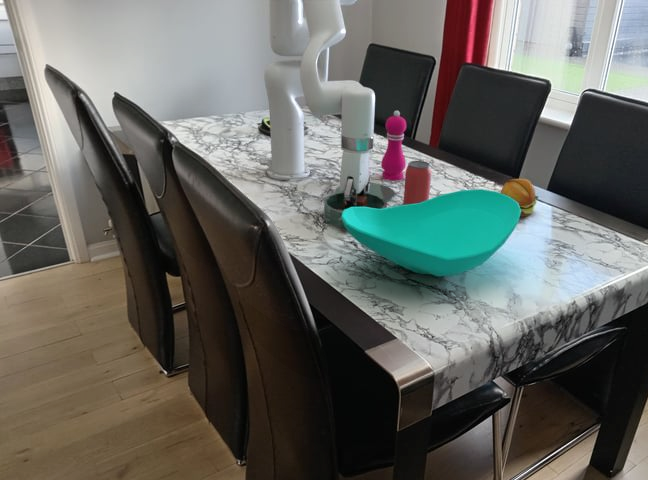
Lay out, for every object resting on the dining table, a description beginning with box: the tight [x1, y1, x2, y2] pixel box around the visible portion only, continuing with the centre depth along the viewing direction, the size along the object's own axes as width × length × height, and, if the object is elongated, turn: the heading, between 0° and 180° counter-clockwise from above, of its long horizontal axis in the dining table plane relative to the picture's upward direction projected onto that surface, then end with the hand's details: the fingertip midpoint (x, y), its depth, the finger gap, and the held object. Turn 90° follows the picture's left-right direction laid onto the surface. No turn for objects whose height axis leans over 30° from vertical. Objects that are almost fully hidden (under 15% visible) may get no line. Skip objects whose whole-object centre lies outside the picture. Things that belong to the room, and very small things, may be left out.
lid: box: [334, 177, 396, 203], centre depth 158 cm, size 16×16×5 cm
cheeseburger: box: [500, 178, 539, 217], centre depth 152 cm, size 10×11×10 cm
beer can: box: [402, 160, 432, 205], centre depth 150 cm, size 7×7×12 cm
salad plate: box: [256, 117, 310, 138], centre depth 213 cm, size 19×18×5 cm
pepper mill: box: [380, 110, 407, 181], centre depth 168 cm, size 7×7×20 cm
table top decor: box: [341, 188, 521, 277], centre depth 120 cm, size 40×28×13 cm
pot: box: [323, 191, 388, 230], centre depth 143 cm, size 15×21×4 cm
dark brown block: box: [342, 195, 367, 211], centre depth 143 cm, size 5×4×5 cm
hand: (354, 214), depth 143 cm, fingers open, 5 cm apart
